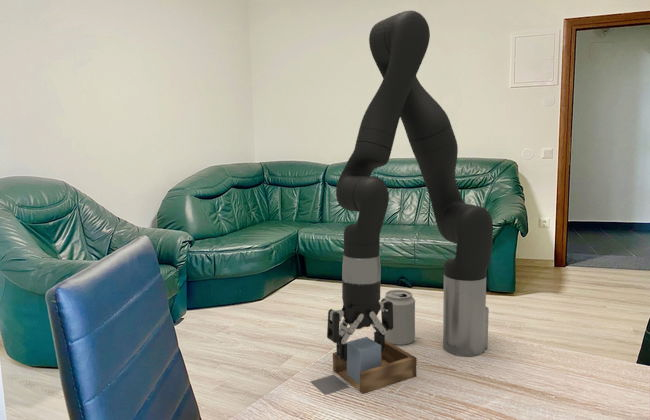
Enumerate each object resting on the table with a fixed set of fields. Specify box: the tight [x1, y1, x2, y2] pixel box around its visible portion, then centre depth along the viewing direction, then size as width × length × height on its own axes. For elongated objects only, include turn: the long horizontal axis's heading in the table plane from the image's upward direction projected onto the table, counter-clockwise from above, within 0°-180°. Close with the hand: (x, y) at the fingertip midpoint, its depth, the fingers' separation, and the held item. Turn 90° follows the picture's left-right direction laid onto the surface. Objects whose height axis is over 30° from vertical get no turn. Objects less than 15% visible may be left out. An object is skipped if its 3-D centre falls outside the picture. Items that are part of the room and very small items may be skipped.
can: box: [382, 289, 416, 346], centre depth 119 cm, size 8×8×12 cm
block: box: [346, 336, 381, 384], centre depth 101 cm, size 5×5×7 cm
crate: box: [332, 340, 417, 395], centre depth 102 cm, size 13×11×4 cm
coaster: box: [310, 374, 350, 396], centre depth 99 cm, size 6×6×1 cm
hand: (360, 355), depth 101 cm, fingers open, 8 cm apart
